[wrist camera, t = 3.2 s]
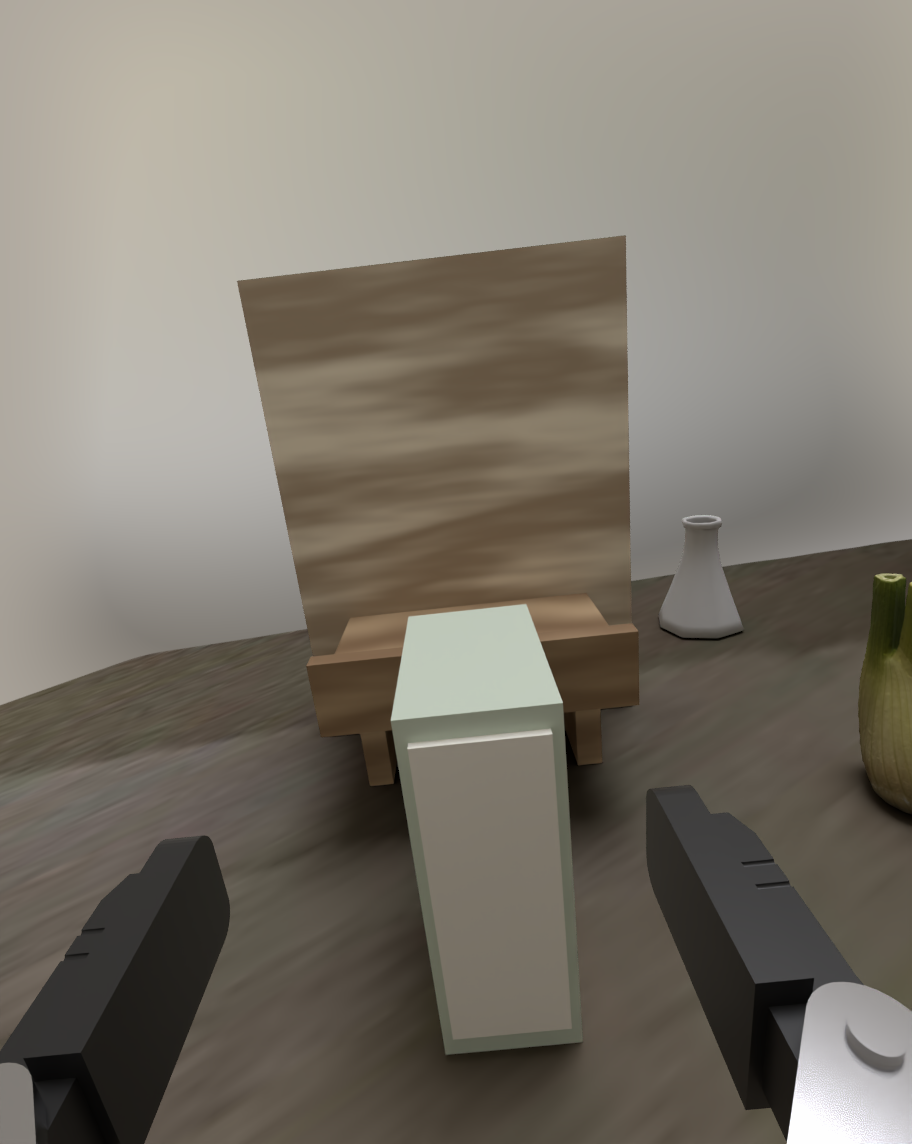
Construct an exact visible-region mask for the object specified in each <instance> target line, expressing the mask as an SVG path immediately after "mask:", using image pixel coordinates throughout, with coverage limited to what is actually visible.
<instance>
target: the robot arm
mask: <svg viewBox="0 0 912 1144" xmlns="http://www.w3.org/2000/svg"><path fill="white" fill-rule="evenodd" d="M646 855H647V865H648V871H649V876H650V880H651V884H652V887H653V890H654V893H655V896H656V898H657V901H658V903H659V905H660V908H661V910H662V913H663V915H664V917H665V920H666V922H667V924H668V927H669V929H670V932H671V934H672V936H673V939H674V941H675V943H676V946H677V948H678V951H679V953H680V955H681V958H682V960H683V962H684V965H685V967H686V970H687V972H688V974H689V977H690V979H691V981H692V984H693V986H694V989H695V991H696V993H697V996H698V998H699V1000H700V1003H701V1005H702V1008H703V1010H704V1012H705V1015H706V1017H707V1019H708V1022H709V1024H710V1027H711V1029H712V1031H713V1034H714V1036H715V1038H716V1041H717V1043H718V1045H719V1048H720V1050H721V1053H722V1055H723V1057H724V1060H725V1062H726V1064H727V1067H728V1069H729V1072H730V1074H731V1076H732V1079H733V1081H734V1083H735V1086H736V1088H737V1091H738V1093H739V1095H740V1098H741V1100H742V1102H743V1105H744V1107H745V1110H751V1109H762V1108H771V1109H772V1111H773V1113H774V1115H775V1118H776V1120H777V1122H778V1124H779V1126H780V1128H781V1131H782V1133H783V1135H784V1137H785V1139H786V1142H787V1144H912V1012H911V1011H910V1010H909V1009H907V1008H906V1007H905V1006H903V1005H902V1004H901V1003H899V1002H898V1001H896V1000H894V999H893V998H891V997H890V996H888V995H886V994H884V993H882V992H880V991H878V990H876V989H873V988H870V987H867V986H865V985H863V984H862V982H861V981H860V980H859V978H858V977H857V976H856V975H855V973H854V972H853V971H852V969H851V968H850V966H849V965H848V964H847V962H846V961H845V959H844V958H843V956H842V955H841V954H840V952H839V951H838V949H837V948H836V947H835V945H834V944H833V942H832V941H831V939H830V938H829V937H828V935H827V934H826V932H825V931H824V930H823V928H822V927H821V925H820V924H819V922H818V921H817V920H816V918H815V917H814V915H813V914H812V913H811V911H810V910H809V908H808V907H807V906H806V904H805V903H804V901H803V900H802V898H801V897H800V896H799V894H798V893H797V891H796V890H795V889H794V887H791V886H790V884H789V880H788V879H787V877H786V876H785V874H784V873H783V872H782V870H781V869H780V867H779V866H778V864H775V863H774V859H773V857H772V856H771V855H770V853H769V852H768V850H767V849H766V848H765V846H764V845H763V843H762V842H761V840H760V839H759V838H758V836H757V835H756V833H755V832H753V831H752V830H751V829H749V828H748V827H747V826H745V825H744V824H743V823H741V822H740V821H739V820H737V819H736V818H735V817H733V816H732V815H731V814H729V813H718V814H710V812H709V811H708V809H707V808H706V806H705V804H704V803H703V801H702V800H701V798H700V796H699V795H698V793H697V792H696V790H695V789H694V788H693V787H692V786H691V785H684V786H674V787H664V788H655V789H649V790H648V791H647V796H646ZM229 919H230V904H229V898H228V895H227V891H226V888H225V884H224V881H223V877H222V874H221V870H220V867H219V863H218V860H217V857H216V853H215V850H214V846H213V843H212V841H211V839H210V838H209V837H208V836H195V837H185V838H175V839H166V840H163V841H161V842H160V843H159V844H158V845H157V847H156V848H155V850H154V851H153V853H152V854H151V856H150V857H149V859H148V861H147V862H146V864H145V865H144V867H143V869H142V870H141V872H140V873H138V874H130V875H128V876H127V877H126V878H125V879H124V880H123V881H122V882H121V883H120V884H119V885H118V886H117V887H115V888H114V889H113V890H112V891H111V892H110V893H109V894H108V895H107V896H106V897H105V898H103V899H102V900H101V902H100V903H99V905H98V906H97V908H96V909H95V911H94V912H93V914H92V915H91V917H90V918H89V920H88V921H87V923H86V924H85V926H84V927H83V929H82V933H81V936H77V938H76V939H75V940H74V942H73V943H72V945H71V946H70V948H69V949H68V951H67V952H66V954H65V959H64V961H61V962H60V963H59V964H58V966H57V967H56V969H55V970H54V972H53V973H52V975H51V976H50V978H49V979H48V981H47V982H46V984H45V985H44V987H43V988H42V990H41V991H40V993H39V994H38V996H37V997H36V999H35V1000H34V1002H33V1003H32V1005H31V1006H30V1008H29V1009H28V1011H27V1012H26V1014H25V1015H24V1017H23V1018H22V1019H21V1021H20V1022H19V1024H18V1025H17V1027H16V1028H15V1030H14V1031H13V1033H12V1034H11V1036H10V1037H9V1039H8V1040H7V1042H6V1043H5V1045H4V1046H3V1048H2V1049H1V1051H0V1144H144V1143H145V1140H146V1138H147V1135H148V1133H149V1130H150V1128H151V1125H152V1123H153V1120H154V1118H155V1115H156V1113H157V1110H158V1107H159V1105H160V1102H161V1100H162V1097H163V1095H164V1092H165V1090H166V1087H167V1085H168V1082H169V1080H170V1077H171V1075H172V1072H173V1070H174V1067H175V1065H176V1062H177V1060H178V1057H179V1055H180V1052H181V1050H182V1047H183V1045H184V1042H185V1040H186V1037H187V1034H188V1032H189V1029H190V1027H191V1024H192V1022H193V1019H194V1017H195V1014H196V1012H197V1009H198V1007H199V1004H200V1002H201V999H202V997H203V994H204V992H205V989H206V987H207V984H208V982H209V979H210V977H211V974H212V972H213V969H214V967H215V964H216V962H217V959H218V956H219V954H220V951H221V949H222V946H223V944H224V941H225V938H226V935H227V932H228V927H229Z"/></svg>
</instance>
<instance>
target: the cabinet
mask: <svg viewBox="0 0 912 1144" xmlns="http://www.w3.org/2000/svg"><path fill="white" fill-rule="evenodd" d="M391 726H392V732H393V738H394V744H395V750H396V756H397V762H398V768H399V774H400V780H401V786H402V793H403V799H404V805H405V811H406V817H407V823H408V829H409V835H410V841H411V847H412V853H413V859H414V865H415V872H416V878H417V884H418V890H419V896H420V902H421V908H422V914H423V920H424V926H425V932H426V938H427V944H428V951H429V957H430V963H431V969H432V975H433V981H434V987H435V993H436V999H437V1005H438V1011H439V1017H440V1023H441V1030H442V1036H443V1042H444V1048H445V1054H446V1055H449V1054H460V1053H471V1052H482V1051H493V1050H503V1049H514V1048H525V1047H536V1046H547V1045H558V1044H568V1043H579V1042H583V1036H582V1019H581V1002H580V985H579V968H578V951H577V934H576V917H575V900H574V883H573V866H572V849H571V832H570V815H569V798H568V781H567V764H566V747H565V729H564V712H563V702H562V699H561V696H560V694H559V691H558V688H557V686H556V683H555V680H554V677H553V675H552V672H551V669H550V667H549V664H548V661H547V659H546V656H545V653H544V651H543V648H542V645H541V642H540V640H539V637H538V634H537V632H536V629H535V626H534V624H533V621H532V618H531V616H530V613H529V610H528V607H527V605H526V604H521V605H512V606H503V607H493V608H484V609H475V610H465V611H456V612H447V613H437V614H428V615H419V616H409V617H408V622H407V628H406V634H405V640H404V646H403V652H402V658H401V663H400V669H399V675H398V681H397V687H396V693H395V699H394V704H393V710H392V716H391Z"/></svg>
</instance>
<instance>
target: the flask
mask: <svg viewBox="0 0 912 1144" xmlns="http://www.w3.org/2000/svg"><path fill="white" fill-rule="evenodd" d="M682 523H683V526H684V528H685V543H684V548H683V553H682V558H681V561H680V564H679V566H678V569H677V571H676V574H675V577H674V579H673V582H672V584H671V587H670V589H669V591H668V594H667V596H666V598H665V600H664V603H663V605H662V607H661V610H660V613H659V621H660V627H662V628H664V629H666V630H668V631H670V632H672V633H674V634H676V635H678V636H680V637H682V638H721V637H724V636H727V635H730V634H734V633H737V632H740V631H743V630H744V629H743V626H742V623H741V620H740V617H739V615H738V612H737V609H736V607H735V604H734V601H733V598H732V596H731V593H730V590H729V587H728V584H727V581H726V578H725V575H724V572H723V569H722V566H721V561H720V555H719V549H718V528H719V527H721V525H722V520H721V519H720V517H715V516H710V515H700V516H690V517H686V518H682Z"/></svg>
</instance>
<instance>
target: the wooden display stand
mask: <svg viewBox="0 0 912 1144" xmlns="http://www.w3.org/2000/svg"><path fill="white" fill-rule="evenodd" d="M237 282H238V287H239V293H240V297H241V302H242V307H243V312H244V317H245V322H246V327H247V332H248V336H249V342H250V347H251V352H252V357H253V362H254V367H255V371H256V377H257V381H258V386H259V391H260V396H261V401H262V406H263V411H264V416H265V421H266V426H267V431H268V436H269V441H270V446H271V451H272V456H273V460H274V465H275V470H276V475H277V480H278V485H279V490H280V495H281V500H282V505H283V510H284V515H285V520H286V525H287V530H288V535H289V540H290V545H291V550H292V555H293V559H294V564H295V569H296V574H297V579H298V584H299V589H300V594H301V599H302V604H303V609H304V614H305V619H306V624H307V629H308V634H309V639H310V644H311V649H312V653H313V657H311V658H310V660H309V662H308V664H307V666H306V667H307V672H308V676H309V681H310V686H311V691H312V696H313V701H314V705H315V710H316V715H317V720H318V725H319V729H320V734H321V737H331V736H341V735H351V734H360V735H361V740H362V746H363V751H364V756H365V762H366V767H367V773H368V778H369V784H370V786H377V785H387V784H394V779H395V771H396V764H397V756H396V750H395V744H394V738H393V732H392V726H391V716H392V710H393V704H394V699H395V693H396V687H397V681H398V675H399V669H400V663H401V658H402V652H403V646H404V640H405V634H406V628H407V622H408V617H409V616H419V615H428V614H437V613H447V612H456V611H465V610H475V609H484V608H493V607H503V606H512V605H521V604H526V605H527V607H528V610H529V613H530V616H531V618H532V621H533V624H534V626H535V629H536V632H537V634H538V637H539V640H540V642H541V645H542V648H543V651H544V653H545V656H546V659H547V661H548V664H549V667H550V669H551V672H552V675H553V677H554V680H555V683H556V686H557V688H558V691H559V694H560V696H561V699H562V702H563V712H564V727H565V730H566V732H567V735H568V738H569V741H570V744H571V747H572V750H573V752H574V755H575V758H576V761H577V764H578V765H586V764H596V763H602V742H601V713H600V709H606V708H615V707H625V706H633V705H639V646H638V630H637V629H636V628H635V626H634V625H633V624H632V623H631V562H630V561H631V559H630V498H629V497H630V496H629V494H630V493H629V428H628V427H629V426H628V361H627V301H626V300H627V299H626V298H627V294H626V236H616V237H608V238H600V239H591V240H582V241H574V242H565V243H557V244H549V245H540V246H531V247H522V248H514V249H505V250H497V251H488V252H480V253H471V254H463V255H455V256H446V257H437V258H429V259H420V260H412V261H403V262H394V263H386V264H377V265H369V266H360V267H352V268H343V269H335V270H326V271H318V272H309V273H301V274H292V275H283V276H275V277H266V278H259V279H250V280H241V281H237Z"/></svg>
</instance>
